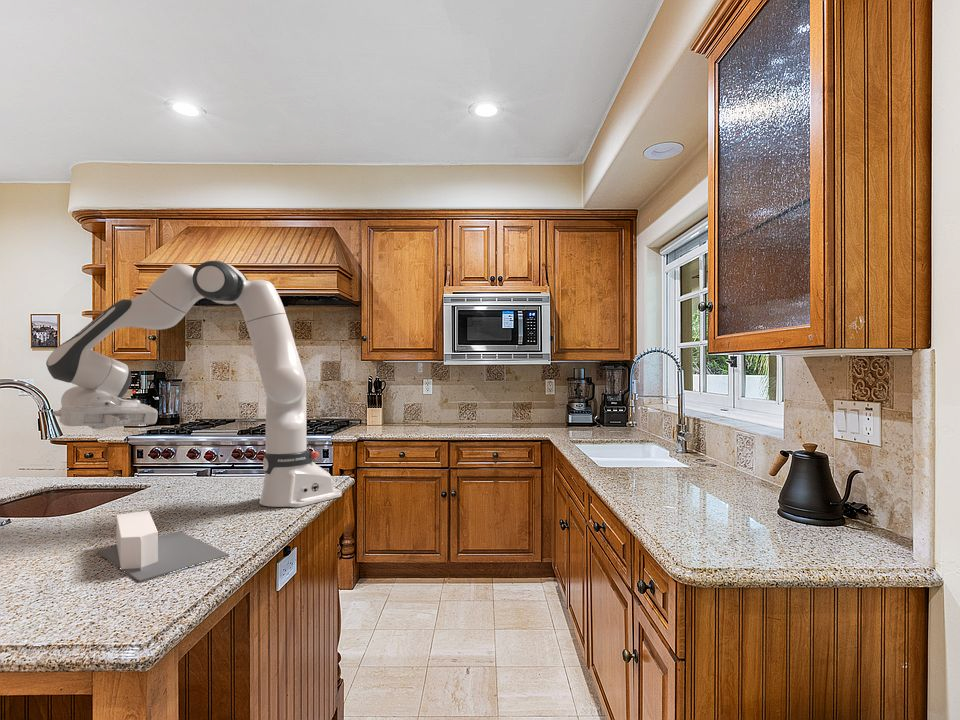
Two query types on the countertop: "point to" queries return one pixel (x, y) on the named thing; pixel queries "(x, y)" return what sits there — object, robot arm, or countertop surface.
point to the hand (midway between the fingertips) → (123, 422)
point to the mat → (169, 556)
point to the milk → (136, 540)
